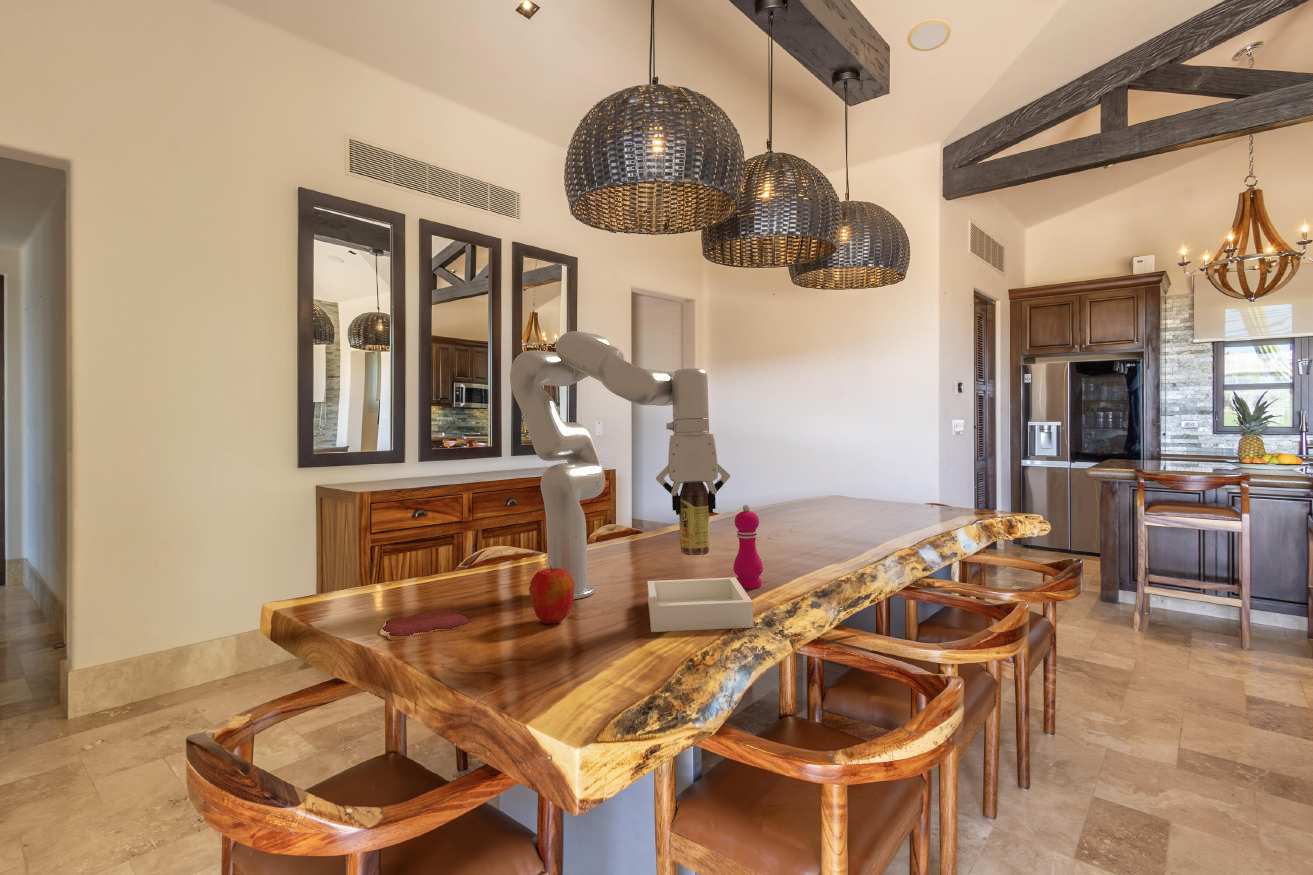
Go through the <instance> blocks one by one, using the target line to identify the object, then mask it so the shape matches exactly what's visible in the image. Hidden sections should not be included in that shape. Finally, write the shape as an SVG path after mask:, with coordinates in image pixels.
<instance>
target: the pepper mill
mask: <svg viewBox="0 0 1313 875" xmlns="http://www.w3.org/2000/svg"><path fill="white" fill-rule="evenodd" d="M742 510H743V511H740V512H738V513H737V514H736V515H735V516H734V517H735V518H734V526H735V528H736V529H737V531H736V537H737V538H738V543H739V544H738V551H737V555H736V557H735V559H734V563H733V573H734V574H735V575H736V579H737V580H738V582H739V583H740V585H741V586H742V587H743V589H744V590H756V589H757V590H758V589H759V588H761V587H762V586H763V585H762V578H761V575H762V573H763V572H764V566H763V562H762V560H761V558H760V555H759V553H758V551H757V543H756V540H757V539H756V538H757V537H758V530H757V528H758V527H759V525H760V519H759V517H758V515H757V513H755V512H753V511H750V510H751V507H750V505H748V504H744V505H743V506H742Z"/></svg>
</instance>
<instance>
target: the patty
mask: <svg viewBox="0 0 1313 875" xmlns="http://www.w3.org/2000/svg"><path fill="white" fill-rule="evenodd" d="M462 613H463V612H462V611H461V610H459V609H452V608H451V609H450V608H449V609H445V608H444V609H436V610H430V611H425V612H420V613H417V614H413V615H408V616H399V617H394V618H391V619H389V620H386V621H385V622H386V625H385V626H384V627H383V628H382V627H381V628H382V629H383V630H384V631H386V632H390V633H389V635H391V636H410V635H413V634H414V633H418V632H419V633H420V632H429V631H431V630H435V629H452V628H455V627H459V626H461V625H464V624H466V623H467V622H469V619H468V618H467V617H466V616H465V615H464V614H463V615H462ZM467 624H468V623H467ZM467 624H466V625H467ZM464 626H465V625H464ZM452 630H453V629H452Z"/></svg>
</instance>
